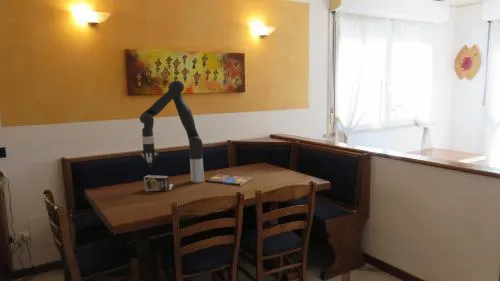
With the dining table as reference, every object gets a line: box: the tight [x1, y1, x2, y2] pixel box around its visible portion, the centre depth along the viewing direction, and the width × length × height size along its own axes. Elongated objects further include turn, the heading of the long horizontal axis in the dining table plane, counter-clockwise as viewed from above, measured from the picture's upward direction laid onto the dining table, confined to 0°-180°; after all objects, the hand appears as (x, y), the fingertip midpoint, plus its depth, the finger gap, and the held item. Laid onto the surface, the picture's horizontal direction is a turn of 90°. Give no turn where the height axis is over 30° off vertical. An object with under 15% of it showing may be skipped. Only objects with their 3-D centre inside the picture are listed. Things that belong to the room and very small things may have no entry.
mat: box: [145, 183, 174, 192], centre depth 274 cm, size 17×13×1 cm
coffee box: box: [143, 174, 170, 192], centre depth 267 cm, size 9×6×16 cm
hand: (150, 167), depth 270 cm, fingers closed
